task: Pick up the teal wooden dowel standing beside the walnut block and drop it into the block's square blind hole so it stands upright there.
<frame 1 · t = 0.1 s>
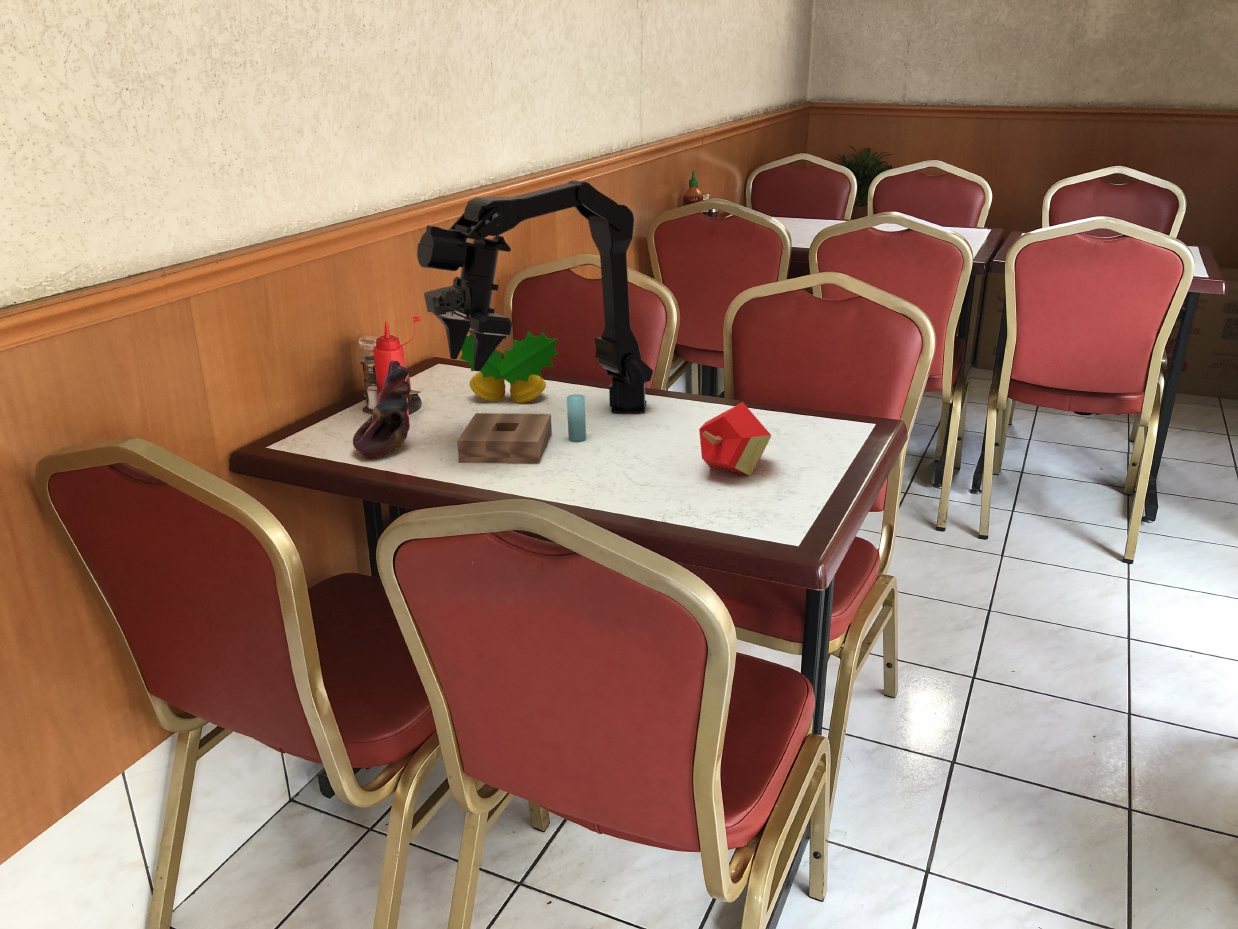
hand: (464, 365, 167), 15 cm above the table, tool pointing down, fingers open, 9 cm apart
ornament: (514, 400, 198), on the table
anatomical model: (385, 449, 174), on the table
hole block: (507, 447, 173), on the table
apple: (732, 470, 161), on the table
dowel: (577, 438, 176), on the table
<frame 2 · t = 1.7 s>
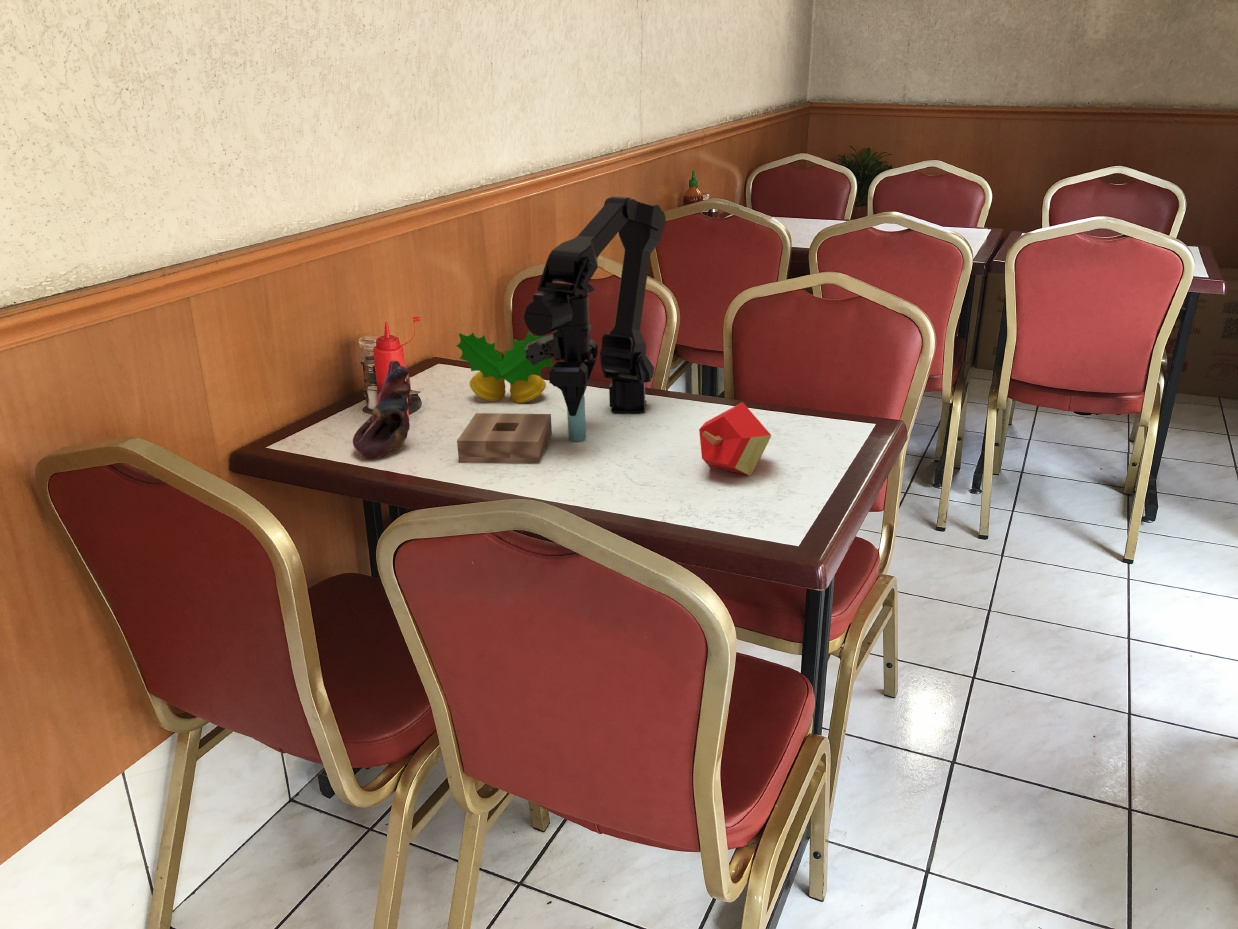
hand: (576, 407, 174), 6 cm above the table, tool pointing down, fingers open, 9 cm apart
nothing on the table moved.
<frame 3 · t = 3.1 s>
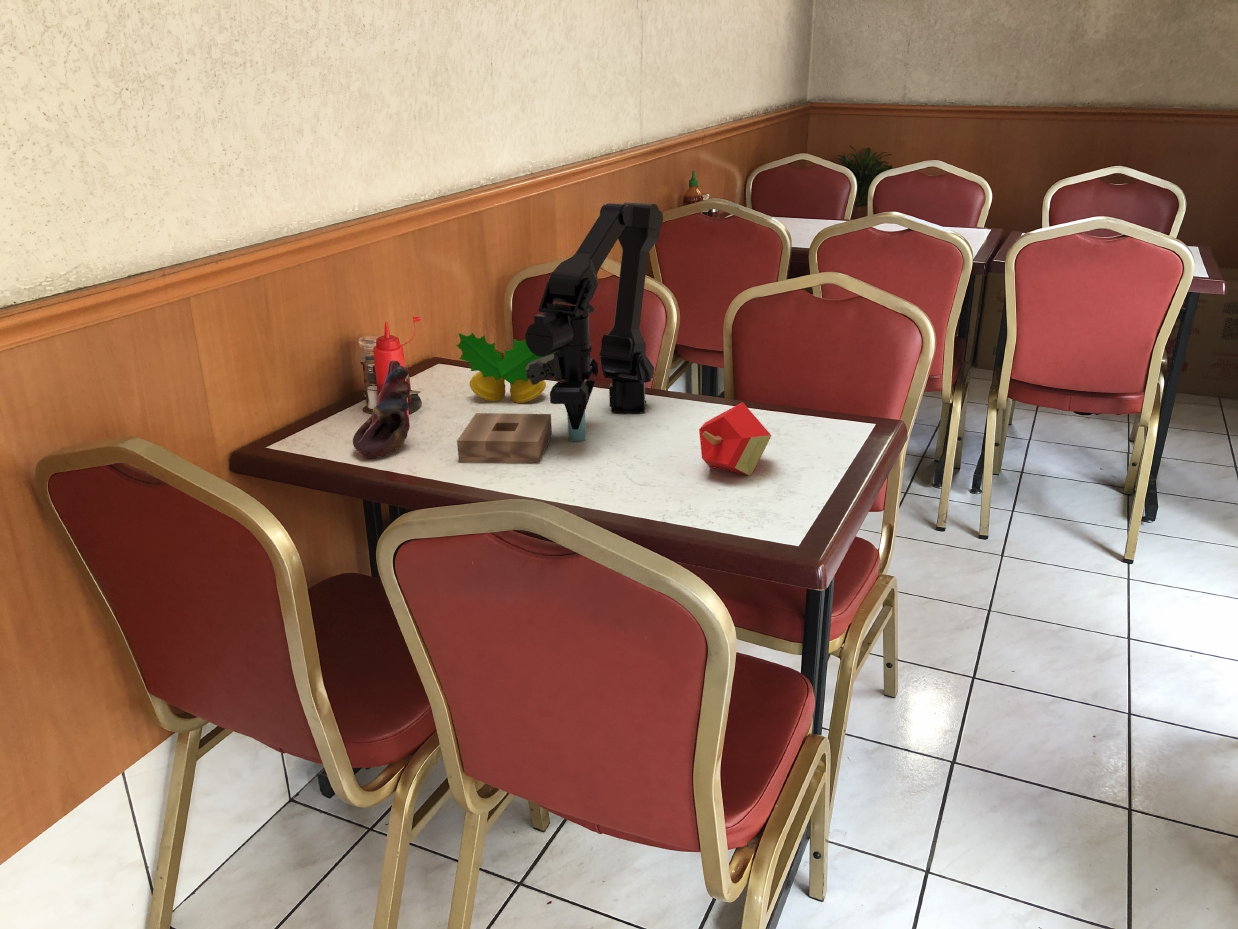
hand: (576, 425, 175), 3 cm above the table, tool pointing down, fingers closed on dowel, 3 cm apart
dowel: (577, 438, 176), on the table, touching gripper
everything else where it was.
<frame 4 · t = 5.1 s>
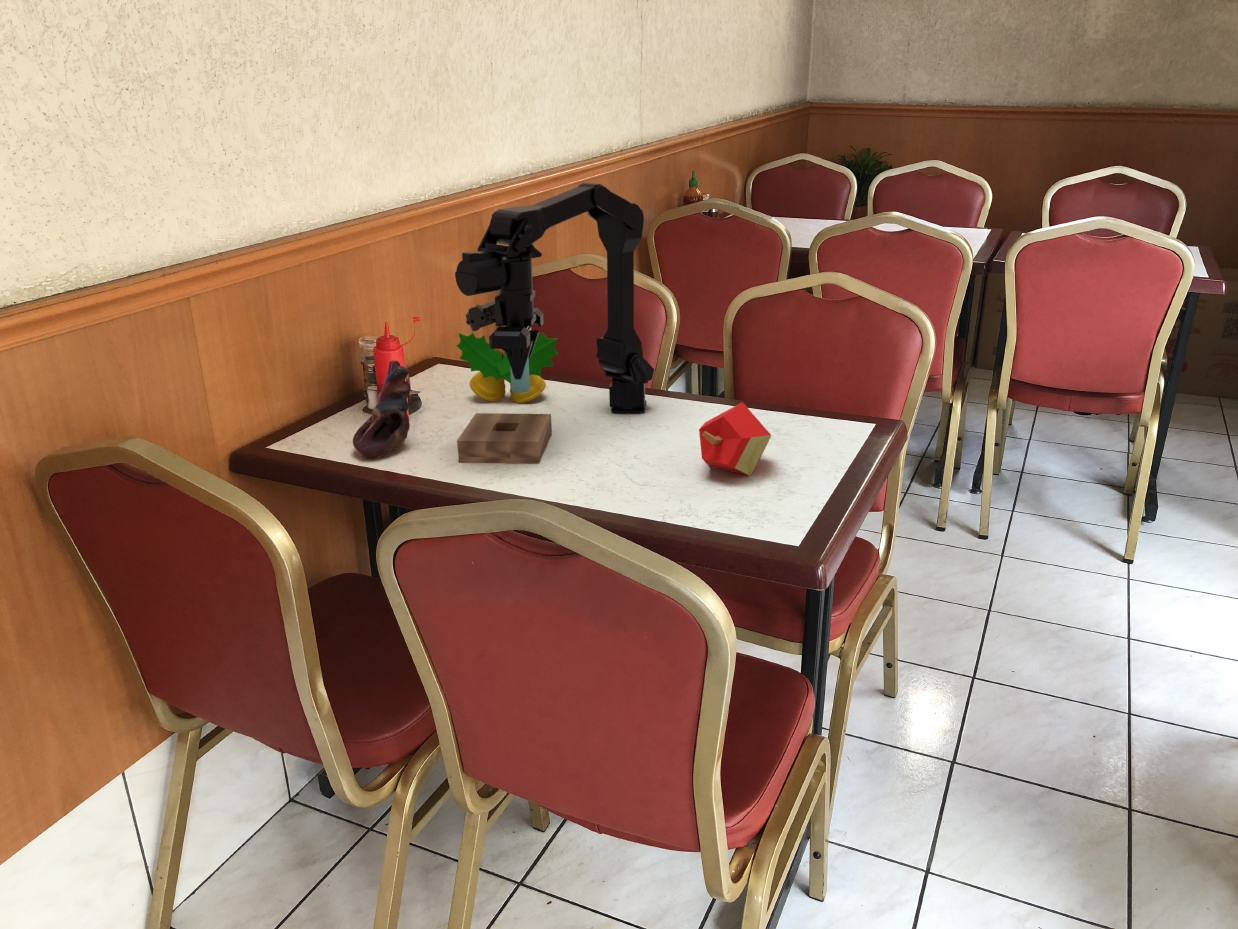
hand: (519, 376, 168), 13 cm above the table, tool pointing down, fingers closed on dowel, 3 cm apart
dowel: (520, 390, 169), point 11 cm above the table, touching gripper
everything else where it was.
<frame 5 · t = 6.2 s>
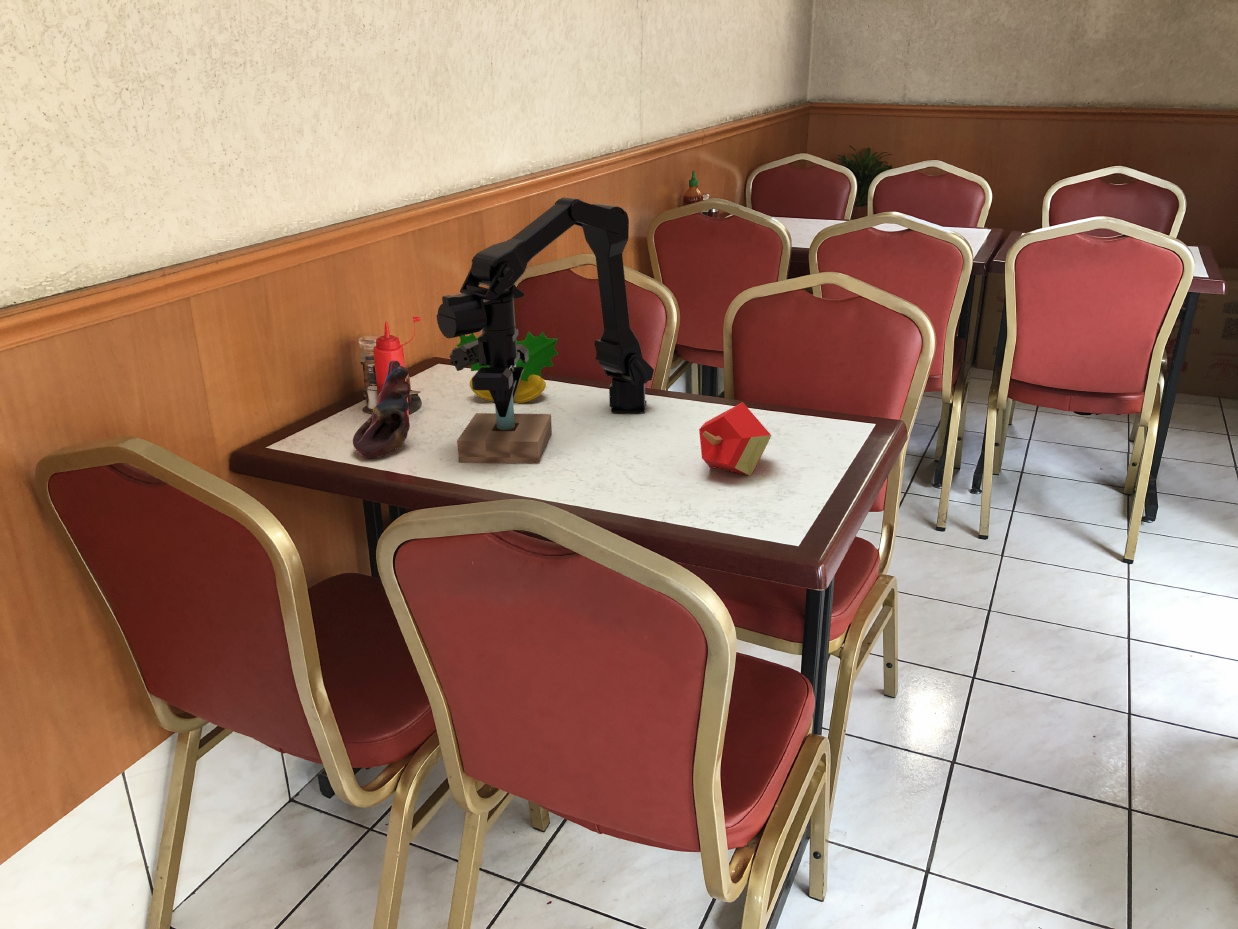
hand: (504, 413, 170), 7 cm above the table, tool pointing down, fingers closed on dowel, 3 cm apart
dowel: (505, 426, 171), point 4 cm above the table, touching gripper
everything else where it was.
when the fingers open (5 cm above the table, at t = 7.1 s): dowel drops 1 cm, resting on hole block.
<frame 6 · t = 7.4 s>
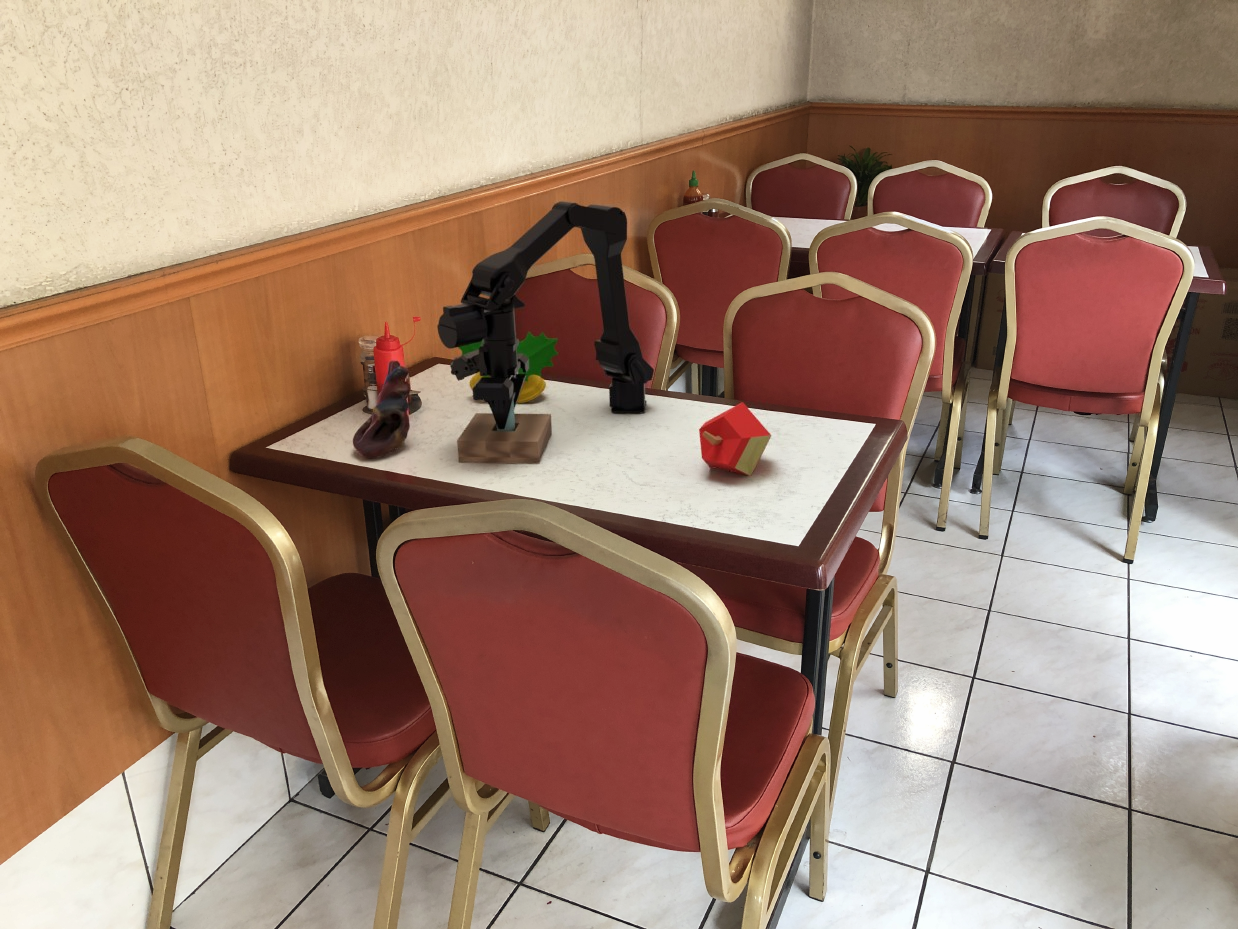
hand: (505, 422, 171), 5 cm above the table, tool pointing down, fingers open, 6 cm apart
dowel: (506, 442, 172), point 1 cm above the table, touching hole block
everything else where it was.
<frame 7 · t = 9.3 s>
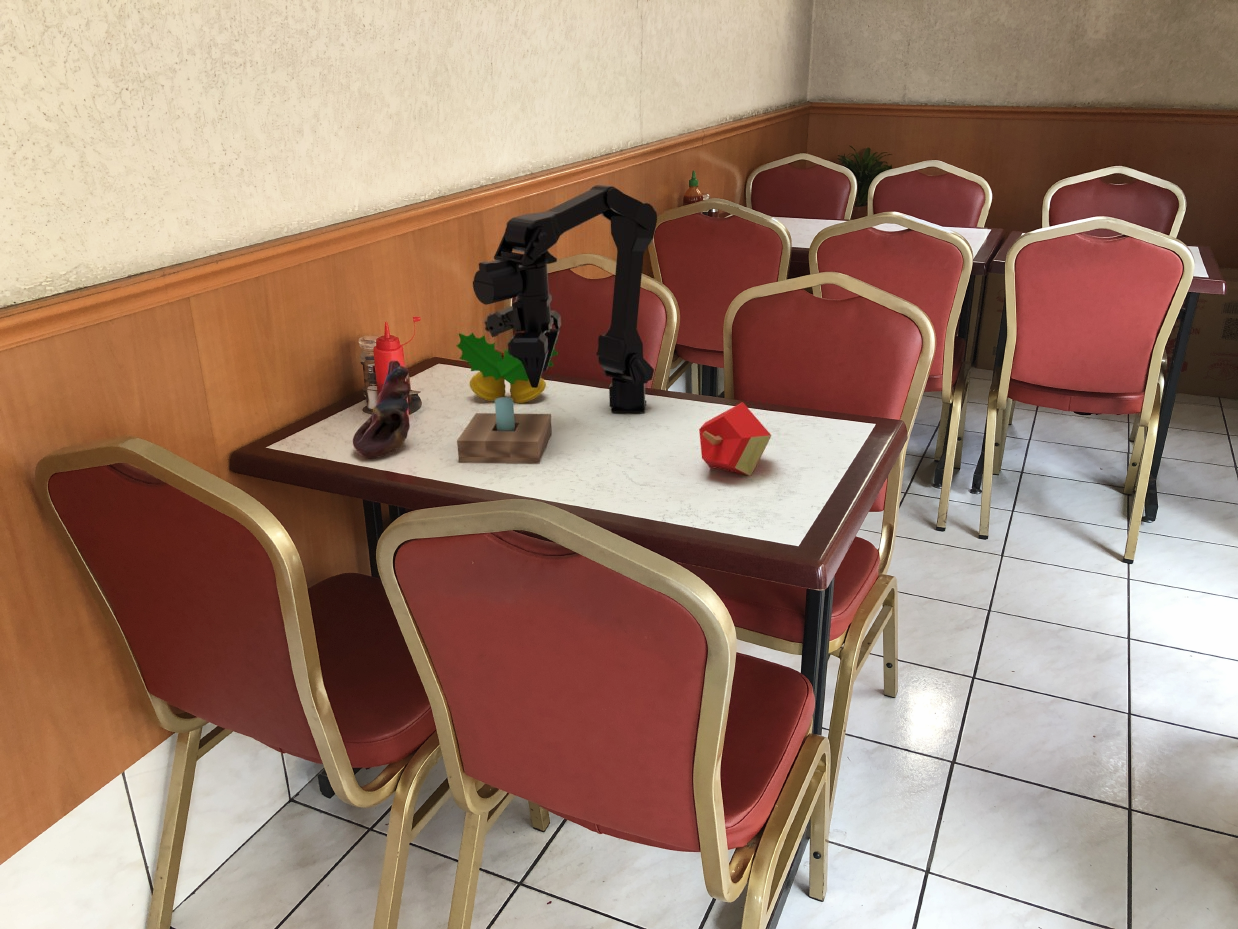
hand: (539, 378, 172), 11 cm above the table, tool pointing down, fingers open, 9 cm apart
nothing on the table moved.
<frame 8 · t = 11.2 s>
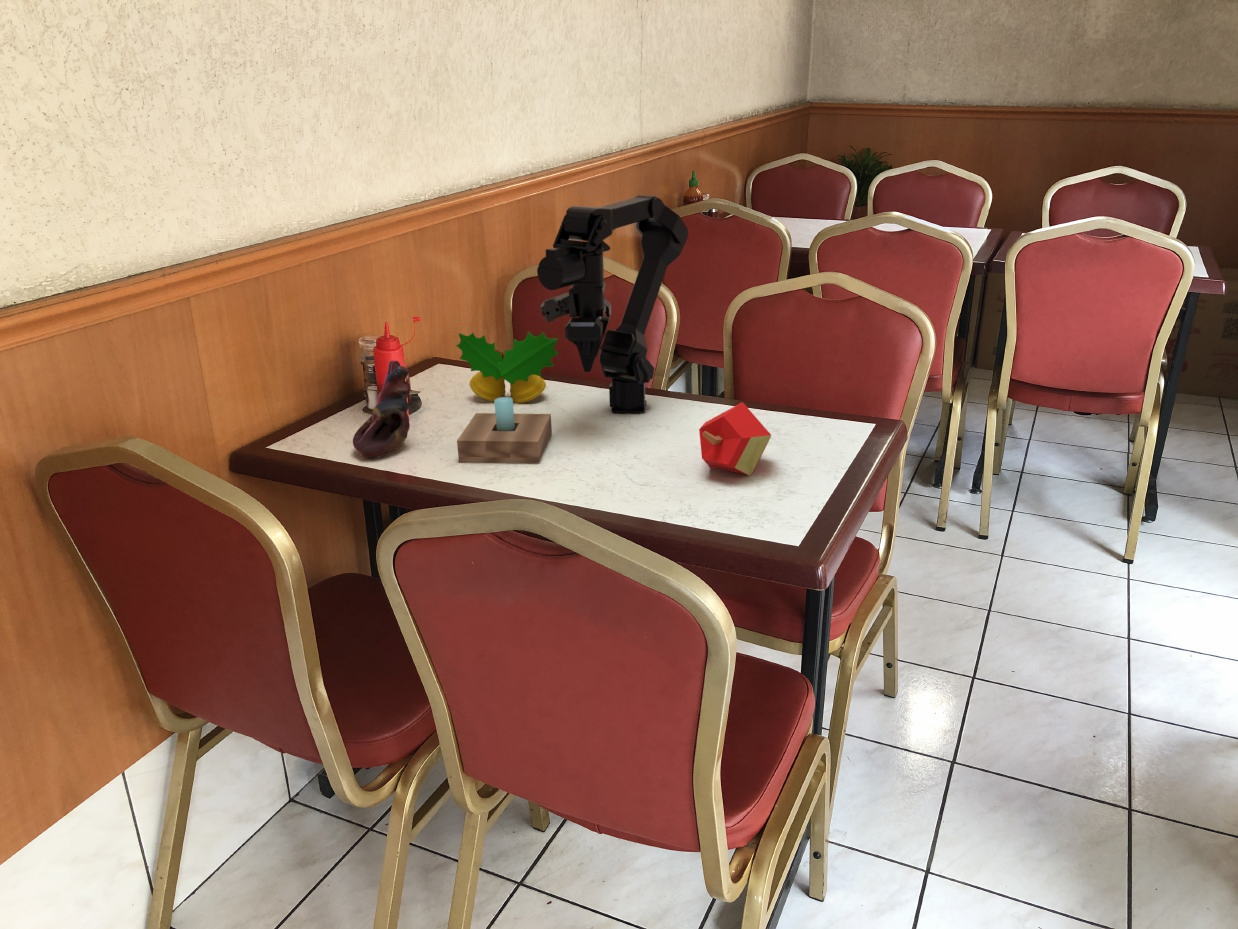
hand: (590, 364, 178), 12 cm above the table, tool pointing down, fingers open, 9 cm apart
nothing on the table moved.
at the end: dowel 0.0 cm off-centre on the hole block, point 1.0 cm above the hole block's base; dowel tilted 0°; the gripper is holding nothing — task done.
